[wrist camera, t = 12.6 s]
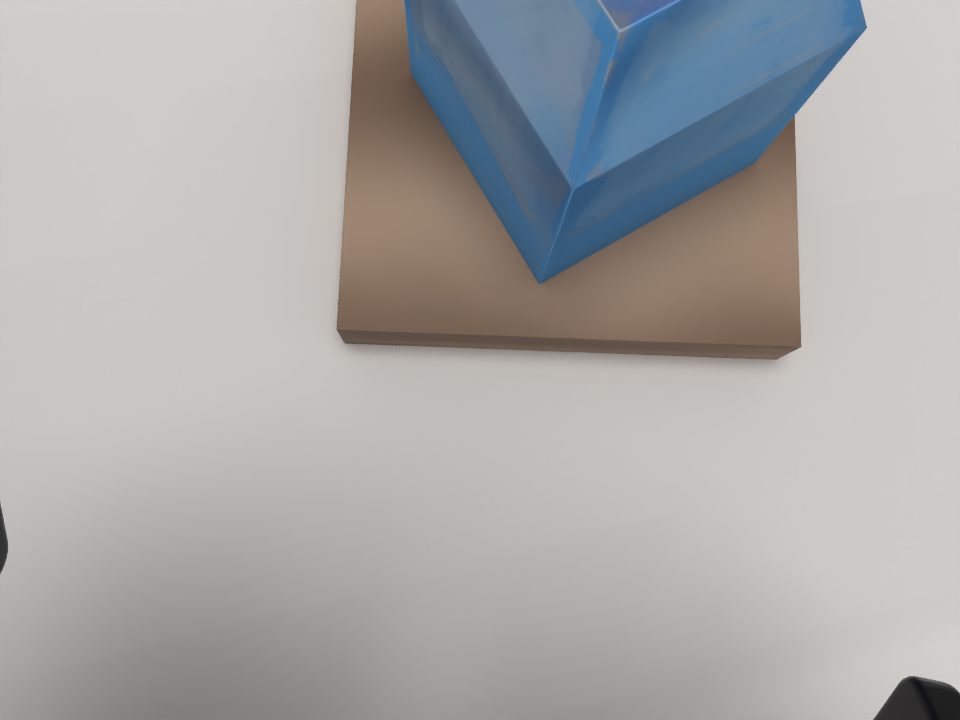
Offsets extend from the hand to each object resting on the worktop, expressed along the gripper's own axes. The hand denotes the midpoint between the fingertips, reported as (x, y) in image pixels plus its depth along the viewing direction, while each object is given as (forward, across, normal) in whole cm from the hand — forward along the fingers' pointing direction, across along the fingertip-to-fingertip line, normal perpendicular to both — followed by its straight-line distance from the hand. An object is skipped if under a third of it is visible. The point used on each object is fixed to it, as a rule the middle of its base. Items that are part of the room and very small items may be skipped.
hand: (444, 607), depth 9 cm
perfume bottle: (+16, -1, +1) cm, 16 cm away
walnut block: (+18, -1, +2) cm, 18 cm away
